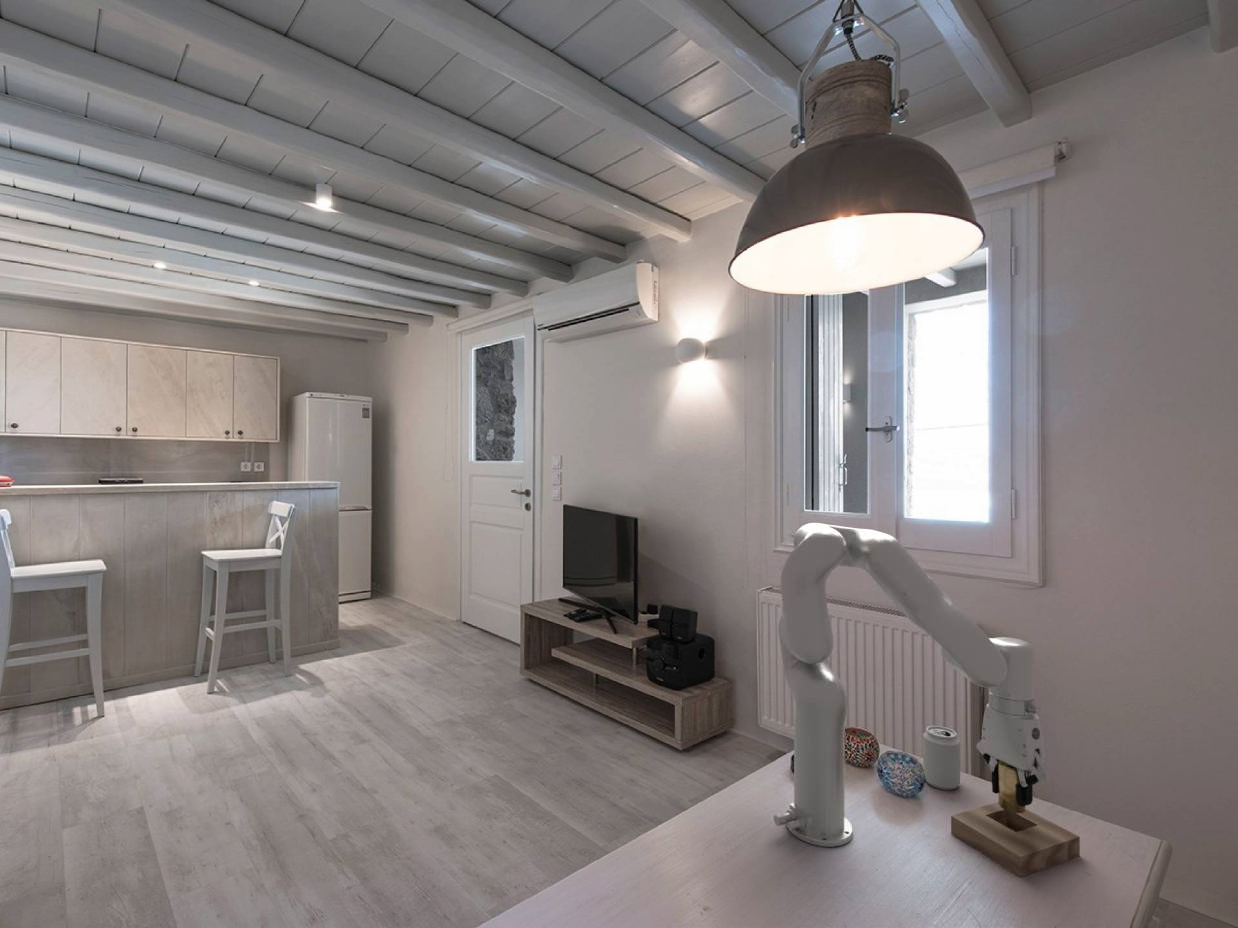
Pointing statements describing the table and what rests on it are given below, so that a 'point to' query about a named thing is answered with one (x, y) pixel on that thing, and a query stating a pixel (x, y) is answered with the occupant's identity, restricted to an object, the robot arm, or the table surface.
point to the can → (941, 757)
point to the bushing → (1008, 787)
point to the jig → (1015, 838)
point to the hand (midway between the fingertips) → (1011, 796)
